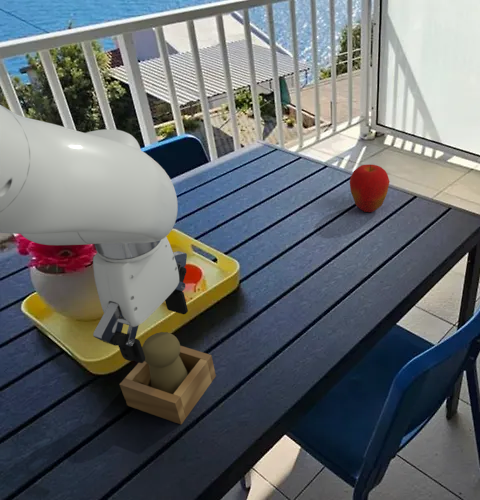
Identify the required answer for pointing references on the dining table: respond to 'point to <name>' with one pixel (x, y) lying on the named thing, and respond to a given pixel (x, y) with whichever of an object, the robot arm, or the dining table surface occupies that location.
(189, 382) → the frame
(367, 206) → the apple
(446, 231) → the dining table surface
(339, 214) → the dining table surface
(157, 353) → the olive rounded figure
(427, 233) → the dining table surface
